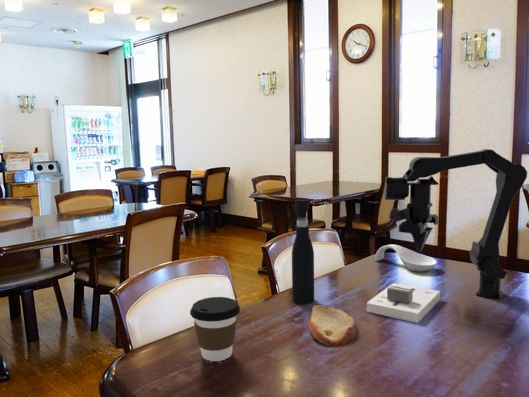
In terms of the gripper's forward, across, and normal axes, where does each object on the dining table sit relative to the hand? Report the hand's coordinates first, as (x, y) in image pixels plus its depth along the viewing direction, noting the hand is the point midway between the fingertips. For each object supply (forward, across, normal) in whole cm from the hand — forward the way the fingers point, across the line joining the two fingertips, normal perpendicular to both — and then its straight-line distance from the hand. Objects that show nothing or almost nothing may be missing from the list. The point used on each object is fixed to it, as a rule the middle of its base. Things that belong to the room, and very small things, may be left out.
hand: (418, 251), depth 137 cm
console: (+13, +12, 0) cm, 18 cm away
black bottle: (+13, +24, -26) cm, 38 cm away
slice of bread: (+14, +37, -11) cm, 41 cm away
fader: (+10, +16, 0) cm, 19 cm away
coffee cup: (+13, +64, -24) cm, 70 cm away
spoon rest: (+14, -26, -13) cm, 32 cm away
